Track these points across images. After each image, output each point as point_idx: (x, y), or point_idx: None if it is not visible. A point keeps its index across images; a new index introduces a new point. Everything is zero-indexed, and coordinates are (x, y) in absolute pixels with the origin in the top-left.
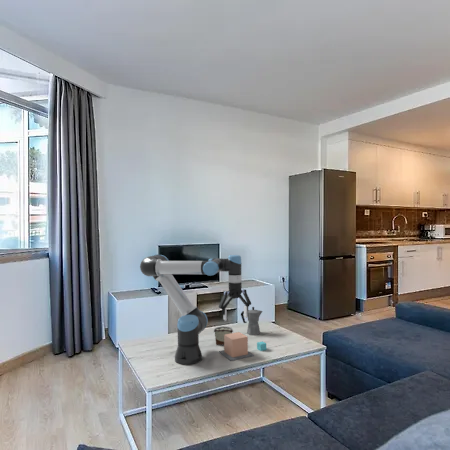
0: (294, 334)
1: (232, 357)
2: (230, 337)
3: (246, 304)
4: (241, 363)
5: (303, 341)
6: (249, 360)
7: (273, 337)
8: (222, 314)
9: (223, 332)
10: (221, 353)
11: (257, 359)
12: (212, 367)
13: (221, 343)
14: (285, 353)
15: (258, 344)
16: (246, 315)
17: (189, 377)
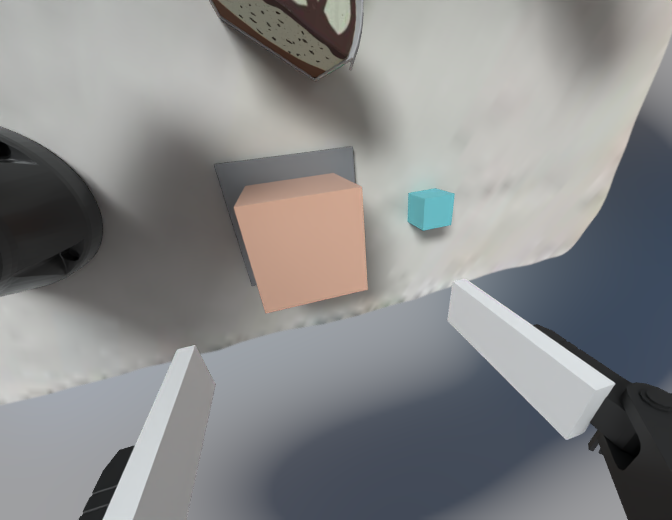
0: (653, 73)
1: None
2: (265, 277)
3: (618, 472)
4: (286, 311)
5: (593, 181)
6: None
7: (564, 64)
8: (124, 454)
9: (272, 12)
10: (225, 199)
11: None
12: (160, 323)
13: (256, 37)
14: (463, 269)
15: (420, 210)
16: (466, 335)
17: (53, 383)
